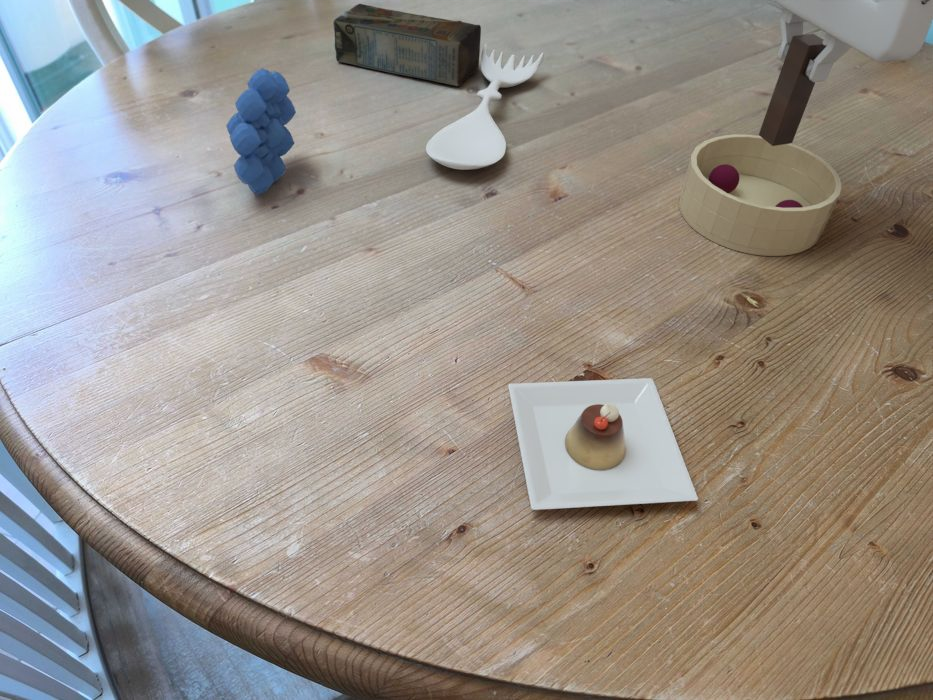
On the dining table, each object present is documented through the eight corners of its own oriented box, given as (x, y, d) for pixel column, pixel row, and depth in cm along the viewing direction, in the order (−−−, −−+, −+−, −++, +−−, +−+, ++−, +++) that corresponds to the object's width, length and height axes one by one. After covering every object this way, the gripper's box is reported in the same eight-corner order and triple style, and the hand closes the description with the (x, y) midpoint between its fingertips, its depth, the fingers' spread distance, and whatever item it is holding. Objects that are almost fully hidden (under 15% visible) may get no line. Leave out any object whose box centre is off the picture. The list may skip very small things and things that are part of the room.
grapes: (259, 149, 87) (242, 46, 79) (313, 159, 86) (302, 55, 78) (210, 202, 79) (185, 93, 71) (270, 213, 78) (252, 104, 70)
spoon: (544, 73, 106) (547, 49, 103) (492, 189, 83) (495, 161, 81) (482, 64, 107) (483, 39, 105) (415, 176, 84) (415, 148, 82)
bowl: (764, 169, 89) (780, 126, 85) (852, 242, 79) (874, 197, 75) (653, 188, 85) (664, 144, 81) (730, 267, 75) (746, 221, 71)
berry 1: (723, 182, 85) (732, 157, 83) (740, 197, 83) (749, 171, 80) (699, 186, 84) (707, 161, 82) (715, 201, 82) (724, 175, 80)
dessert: (529, 518, 52) (537, 477, 49) (506, 393, 61) (511, 350, 58) (694, 509, 54) (713, 468, 50) (649, 387, 62) (662, 345, 59)
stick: (777, 132, 77) (813, 33, 70) (792, 143, 75) (830, 43, 68) (758, 135, 76) (792, 35, 69) (772, 146, 74) (809, 45, 67)
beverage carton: (360, 43, 110) (357, -4, 106) (482, 68, 106) (484, 20, 101) (334, 63, 105) (330, 14, 100) (461, 91, 100) (463, 41, 96)
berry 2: (785, 217, 80) (796, 191, 78) (805, 234, 78) (816, 208, 76) (761, 222, 79) (770, 196, 77) (779, 239, 77) (790, 213, 75)
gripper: (992, -60, 55) (907, 116, 65) (812, -127, 69) (764, 27, 78) (926, -55, 53) (848, 125, 63) (755, -125, 67) (712, 32, 76)
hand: (800, 70), depth 71 cm, fingers closed on stick, 2 cm apart
